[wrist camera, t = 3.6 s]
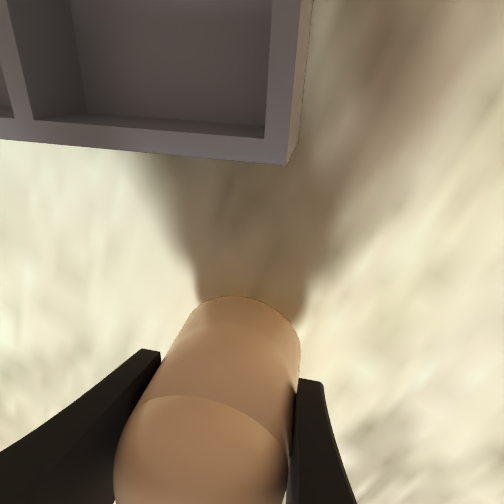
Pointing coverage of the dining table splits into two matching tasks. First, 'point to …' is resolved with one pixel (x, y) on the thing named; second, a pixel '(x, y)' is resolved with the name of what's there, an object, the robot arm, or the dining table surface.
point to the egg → (215, 412)
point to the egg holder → (156, 75)
